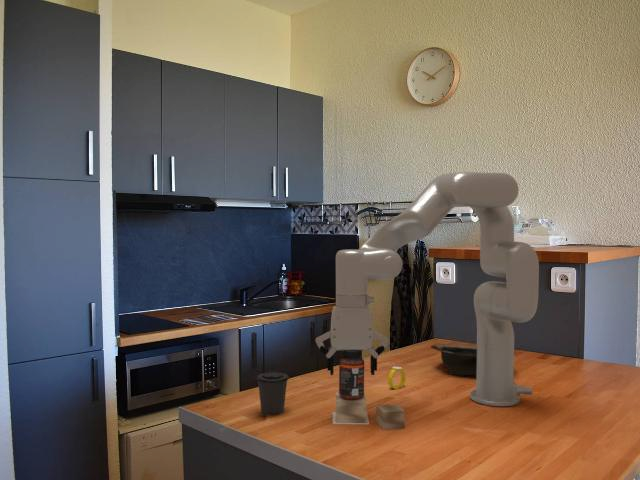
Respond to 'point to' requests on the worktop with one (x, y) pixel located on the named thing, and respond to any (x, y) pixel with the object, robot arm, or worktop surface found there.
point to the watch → (392, 376)
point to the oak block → (390, 416)
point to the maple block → (350, 410)
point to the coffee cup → (272, 392)
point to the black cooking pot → (459, 359)
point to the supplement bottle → (351, 375)
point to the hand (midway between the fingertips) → (352, 373)
